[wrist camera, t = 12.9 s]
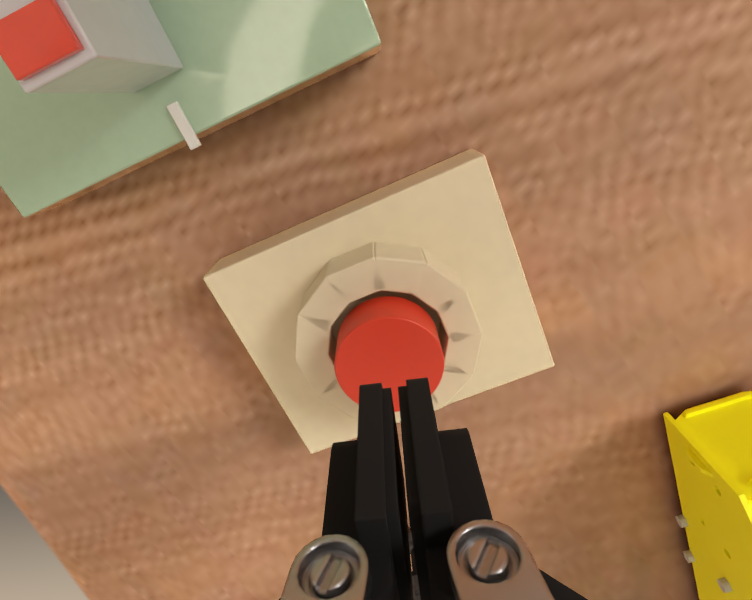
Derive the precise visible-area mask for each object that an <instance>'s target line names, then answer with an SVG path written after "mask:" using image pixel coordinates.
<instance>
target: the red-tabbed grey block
mask: <svg viewBox="0 0 752 600" xmlns="http://www.w3.org/2000/svg"><path fill="white" fill-rule="evenodd" d="M0 56H1V57H2V59H3V60H4V62H5V63H6V65H7V66H8V68H9V69H10V71H11V72H12V74H13V75H14V77H15V78H16V80H17V81H18V82H19V84H20V85H21V87H22V88H23V90H24V91H25V92H26V93H135V92H137V91H139V90H141V89H143V88H145V87H147V86H149V85H151V84H153V83H155V82H157V81H159V80H161V79H163V78H165V77H167V76H169V75H170V74H172V73H174V72H176V71H178V70H180V69H182V68H183V65H182V63H181V61H180V59H179V58H178V56H177V54H176V52H175V50H174V48H173V46H172V44H171V42H170V40H169V39H168V37H167V35H166V33H165V31H164V29H163V27H162V25H161V23H160V21H159V20H158V18H157V16H156V14H155V12H154V10H153V8H152V6H151V4H150V2H149V0H0Z"/></svg>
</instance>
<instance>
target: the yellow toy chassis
mask: <svg viewBox="0 0 752 600" xmlns="http://www.w3.org/2000/svg"><path fill="white" fill-rule="evenodd" d="M663 416H664V421H665V426H666V431H667V436H668V441H669V447H670V452H671V457H672V462H673V467H674V472H675V477H676V482H677V488H678V493H679V498H680V503H681V508H682V513H683V514H682V515H678V516H676V520H677V522H678V524H679V526H680V527H681V528H683V527H685V529H686V534H687V539H688V544H689V549H690V550H686V551H683V555H684V557H685V559H686V561H687V562H688V563H691V562H692V564H693V570H694V575H695V580H696V585H697V590H698V595H699V600H752V391H748V392H740V393H737V394H734V395H731V396H727V397H724V398H721V399H718V400H714V401H711V402H708V403H705V404H701V405H698V406H695V407H692V408H688V409H685V410H684V411H683V413H682V414H681V415H680V416H679V417H678V418H677V419H676V420H675V419H674V418H673V417H672V416H671V415H670V414H669V413H668V412H666V413H663Z"/></svg>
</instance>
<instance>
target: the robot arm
mask: <svg viewBox="0 0 752 600" xmlns="http://www.w3.org/2000/svg"><path fill="white" fill-rule="evenodd" d="M398 395H399V407H400V418H401V430H402V442H403V454H404V465H405V477H406V489H407V501H408V511H409V519H410V527H411V534H412V541H413V548H414V556H415V563H416V570H417V577H418V584H419V591H420V598H421V600H587V599H586V598H584V597H583V596H581V595H579V594H578V593H576V592H575V591H573V590H571V589H570V588H568V587H567V586H565V585H563V584H562V583H560V582H559V581H557V580H556V579H554V578H552V577H551V576H549V575H548V574H546V573H544V572H543V571H541V570H540V569H538V567H537V565H536V563H535V561H534V559H533V557H532V555H531V553H530V551H529V549H528V547H527V545H526V543H525V542H524V541H523V539H522V538H521V536H520V535H519V534H518V533H517V532H515V531H514V530H513V529H512V528H510V527H509V526H507V525H505V524H502V523H500V522H498V521H493V519H492V515H491V511H490V508H489V504H488V500H487V497H486V493H485V490H484V486H483V482H482V479H481V475H480V471H479V468H478V464H477V460H476V457H475V453H474V449H473V446H472V442H471V438H470V435H469V432H468V429H467V428H464V429H455V430H446V431H438V429H437V424H436V419H435V413H434V408H433V403H432V397H431V392H430V387H429V381H428V377H426V378H417V379H408V380H406V386H400V387H398ZM279 600H414V598H413V586H412V573H411V561H410V549H409V536H408V524H407V511H406V499H405V487H404V477H403V469H402V462H401V455H400V447H399V440H398V433H397V426H396V419H395V412H394V405H393V398H392V391H391V388H383V386H382V383H373V384H365V385H360V386H359V409H358V435H357V440H354V441H345V442H335V443H333V444H332V449H331V457H330V467H329V476H328V485H327V495H326V504H325V513H324V523H323V532H322V537H320V538H317V539H315V540H313V541H312V542H310V543H309V544H307V545H306V546H305V547H304V548H303V549H302V550H301V551H300V552H299V553H298V554H297V556H296V557H295V559H294V561H293V563H292V565H291V568H290V571H289V574H288V577H287V580H286V583H285V587H284V590H283V593H282V596H281V598H280V599H279Z"/></svg>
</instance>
